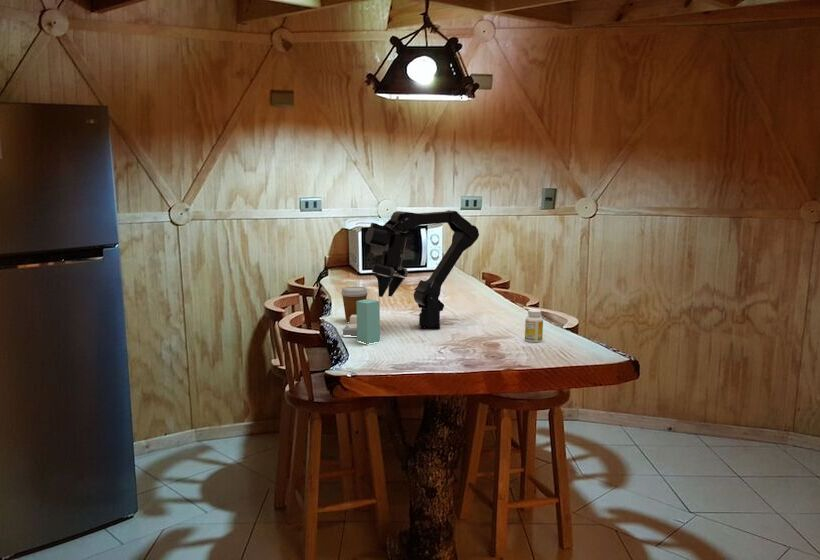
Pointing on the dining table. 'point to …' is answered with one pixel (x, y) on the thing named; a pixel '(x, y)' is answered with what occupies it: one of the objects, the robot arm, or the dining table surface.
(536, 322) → the supplement bottle
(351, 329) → the base plate
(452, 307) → the dining table surface
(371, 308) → the column
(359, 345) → the dining table surface
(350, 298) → the disposable coffee cup
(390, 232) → the robot arm
